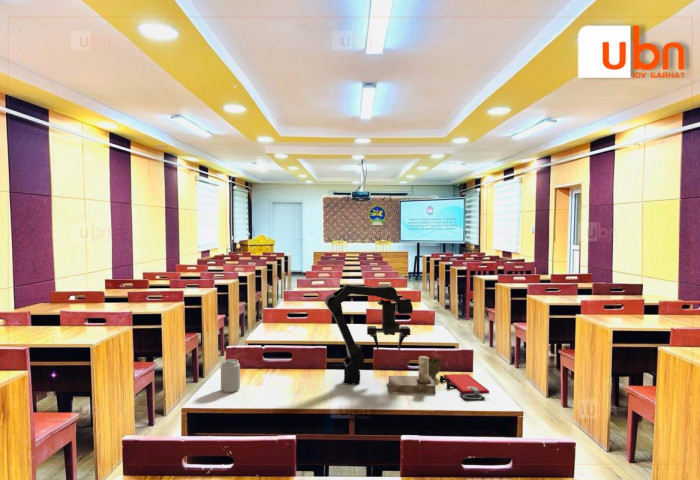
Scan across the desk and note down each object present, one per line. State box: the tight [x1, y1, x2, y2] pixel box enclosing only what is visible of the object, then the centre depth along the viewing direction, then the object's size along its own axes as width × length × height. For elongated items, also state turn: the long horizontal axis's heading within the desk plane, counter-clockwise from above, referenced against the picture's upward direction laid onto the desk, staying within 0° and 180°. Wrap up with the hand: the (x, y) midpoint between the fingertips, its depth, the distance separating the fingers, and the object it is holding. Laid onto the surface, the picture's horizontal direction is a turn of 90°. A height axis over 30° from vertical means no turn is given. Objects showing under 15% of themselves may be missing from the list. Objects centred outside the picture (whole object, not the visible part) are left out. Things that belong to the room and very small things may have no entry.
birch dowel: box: [418, 355, 430, 384], centre depth 182 cm, size 4×4×13 cm
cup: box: [429, 357, 442, 379], centre depth 197 cm, size 8×7×8 cm
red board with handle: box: [439, 373, 490, 400], centre depth 185 cm, size 30×3×15 cm
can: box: [220, 358, 241, 394], centre depth 179 cm, size 8×8×12 cm
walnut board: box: [388, 375, 436, 394], centre depth 184 cm, size 18×12×3 cm, turn 89°
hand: (388, 350), depth 194 cm, fingers open, 9 cm apart
